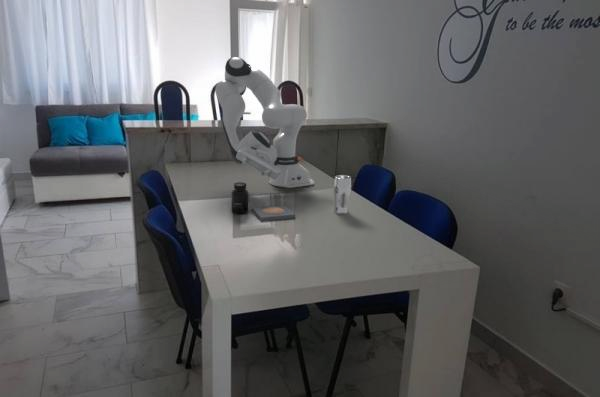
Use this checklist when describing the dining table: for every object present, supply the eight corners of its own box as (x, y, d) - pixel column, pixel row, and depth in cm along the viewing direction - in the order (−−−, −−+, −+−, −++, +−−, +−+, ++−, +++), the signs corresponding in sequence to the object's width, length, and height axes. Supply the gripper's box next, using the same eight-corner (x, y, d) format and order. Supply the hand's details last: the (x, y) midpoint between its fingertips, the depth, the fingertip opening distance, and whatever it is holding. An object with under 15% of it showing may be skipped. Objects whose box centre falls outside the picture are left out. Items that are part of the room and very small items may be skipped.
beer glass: (351, 211, 197) (353, 176, 192) (346, 215, 190) (348, 179, 186) (336, 208, 199) (337, 174, 195) (330, 213, 193) (331, 177, 189)
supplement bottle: (234, 215, 186) (234, 186, 183) (229, 210, 192) (228, 182, 189) (251, 213, 189) (251, 184, 186) (244, 208, 195) (244, 180, 192)
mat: (284, 208, 197) (284, 204, 197) (295, 218, 186) (295, 214, 185) (252, 211, 192) (252, 207, 192) (260, 221, 181) (260, 217, 180)
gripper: (279, 177, 212) (271, 186, 199) (239, 155, 213) (229, 163, 200) (285, 166, 210) (278, 173, 197) (245, 143, 210) (235, 150, 197)
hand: (253, 168), depth 198 cm, fingers open, 8 cm apart
